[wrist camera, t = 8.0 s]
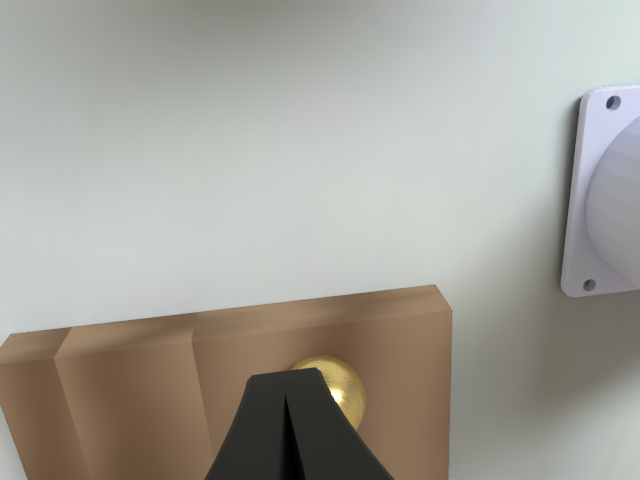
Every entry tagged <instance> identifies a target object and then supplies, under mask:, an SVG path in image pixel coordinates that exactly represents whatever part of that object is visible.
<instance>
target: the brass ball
mask: <svg viewBox="0 0 640 480" xmlns="http://www.w3.org/2000/svg"><path fill="white" fill-rule="evenodd" d="M312 367H316V368H317V369H319V370H320V371H321V372H322V375H323V377H324V379H325V382H326V384H327V386H328V388H329V390H330V391H331V393H332V395H333V397H334V399H335V400H336V402H337V403H338V405H339V407H340V408H341V410H342V412H343V413H344V415H345V416H346V418H347V419H348V421H349V422H350V423H351V425H352V426H353V428H354V429H355V430H356V431H357V429H358V428H359V426H360V424H361V422H362V420H363V417H364V414H365V409H366V395H365V390H364V387H363V384H362V382H361V380H360V378H359V376H358V375H357V373H356V372H355V371H354V370H353V369H352V368H351V367H350V366H349V365H348V364H346V363H345V362H343V361H341V360H339V359H337V358H334V357H331V356H313V357H309V358H306V359H304V360H302V361H300V362H298V363H297V364H295V365H294V366H293V367H292V368H291V369H290V370H296V369H304V368H312Z"/></svg>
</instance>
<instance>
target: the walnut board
mask: <svg viewBox="0 0 640 480" xmlns="http://www.w3.org/2000/svg"><path fill="white" fill-rule="evenodd" d="M451 338H452V309H451V307H450V306H449V304H448V303H447V302H446V300H445V299H444V297H443V296H442V294H441V293H440V291H439V290H438V288H437V287H436V285H428V286H419V287H410V288H402V289H393V290H385V291H376V292H368V293H359V294H351V295H342V296H334V297H325V298H316V299H308V300H299V301H291V302H282V303H274V304H265V305H257V306H248V307H240V308H231V309H223V310H214V311H205V312H197V313H188V314H180V315H171V316H163V317H154V318H146V319H137V320H129V321H120V322H111V323H103V324H94V325H86V326H77V327H69V328H60V329H52V330H43V331H35V332H26V333H18V334H11V335H10V336H9V337H8V339H7V340H6V341H5V342H4V344H3V345H2V346H1V348H0V405H1V408H2V411H3V413H4V416H5V419H6V421H7V424H8V427H9V429H10V432H11V435H12V438H13V440H14V443H15V446H16V448H17V451H18V454H19V457H20V459H21V462H22V465H23V467H24V470H25V473H26V476H27V478H28V480H204V479H205V477H206V475H207V473H208V471H209V470H210V468H211V466H212V464H213V462H214V460H215V458H216V456H217V454H218V452H219V450H220V448H221V446H222V444H223V442H224V440H225V437H226V435H227V433H228V431H229V429H230V427H231V425H232V422H233V420H234V417H235V415H236V412H237V410H238V407H239V405H240V402H241V399H242V396H243V393H244V390H245V387H246V383H247V380H248V379H249V378H250V377H251V376H252V375H257V374H265V373H272V372H280V371H288V370H290V369H291V368H292V367H293V366H294V365H295V364H297V363H298V362H300V361H302V360H304V359H306V358H309V357H313V356H331V357H334V358H337V359H339V360H341V361H343V362H345V363H346V364H348V365H349V366H350V367H351V368H352V369H353V370H354V371H355V372H356V373H357V375H358V376H359V378H360V380H361V382H362V384H363V387H364V390H365V395H366V409H365V414H364V417H363V420H362V422H361V424H360V426H359V428H358V429H357V431H356V432H357V433H358V435H359V436H360V437H361V439H362V440H363V442H364V443H365V444H366V445H367V447H368V448H369V449H370V451H371V452H372V453H373V454H374V456H375V457H376V458H377V459H378V461H379V462H380V463H381V464H382V465H383V467H384V468H385V469H386V470H387V471H388V473H389V474H390V475H391V476H392V477H393V478H394V479H395V480H448V465H449V423H450V381H451Z"/></svg>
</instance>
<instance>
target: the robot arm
mask: <svg viewBox="0 0 640 480" xmlns="http://www.w3.org/2000/svg"><path fill="white" fill-rule="evenodd" d="M611 96H613V97H614V102H613V105H612V106H611V107H610V108H608V109H607V107H606V103H607V100H608V99H609V98H610V97H611ZM587 280H590V282H589V284H588V285H587V286H584V287H583V285H584V283H585V282H586V281H587ZM560 285H561V289H562V291H563V292H564V293H565V294H566V295H568V296H569V297H584V296H592V295H600V294H608V293H617V292H625V291H633V290H640V84H637V85H626V86H615V87H604V88H595V89H592V90H589V91H588V92H587V93H585V95H584V96H583V97H582V99H581V103H580V109H579V118H578V128H577V137H576V146H575V155H574V164H573V174H572V183H571V192H570V201H569V210H568V220H567V229H566V238H565V247H564V256H563V266H562V275H561V284H560ZM204 480H395V479H394V478H393V477H392V476H391V475H390V474H389V473H388V471H387V470H386V469H385V468H384V467H383V465H382V464H381V463H380V462H379V461H378V459H377V458H376V457H375V456H374V454H373V453H372V452H371V451H370V449H369V448H368V447H367V445H366V444H365V443H364V442H363V440H362V439H361V437H360V436H359V435H358V433H357V432H356V430H355V429H354V428H353V426H352V425H351V423H350V422H349V421H348V419H347V418H346V416H345V415H344V413H343V412H342V410H341V408H340V407H339V405H338V403H337V402H336V400H335V399H334V397H333V395H332V393H331V391H330V390H329V388H328V386H327V384H326V382H325V379H324V377H323V375H322V372H321V371H320V370H319V369H317V368H316V367H312V368H304V369H296V370H288V371H280V372H272V373H265V374H257V375H252V376H251V377H250V378H249V379H248V380H247V383H246V387H245V390H244V393H243V396H242V399H241V402H240V405H239V407H238V410H237V412H236V415H235V417H234V420H233V422H232V425H231V427H230V429H229V431H228V433H227V435H226V437H225V440H224V442H223V444H222V446H221V448H220V450H219V452H218V454H217V456H216V458H215V460H214V462H213V464H212V466H211V468H210V470H209V471H208V473H207V475H206V477H205V479H204Z"/></svg>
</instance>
